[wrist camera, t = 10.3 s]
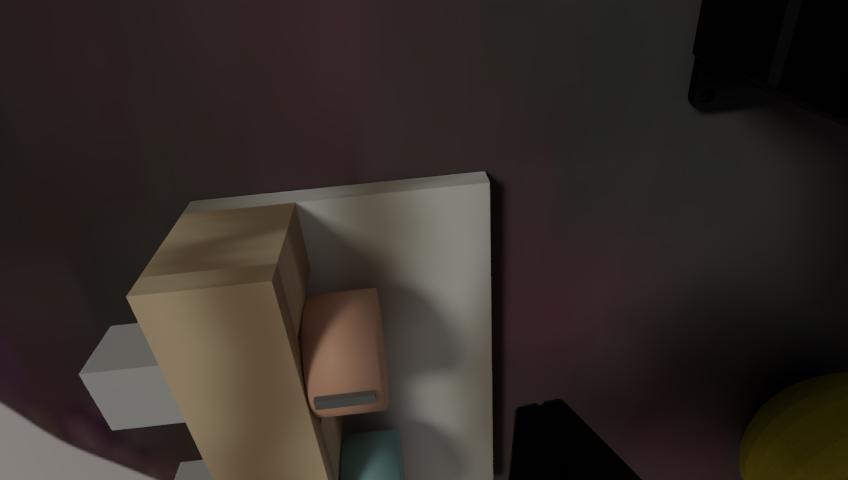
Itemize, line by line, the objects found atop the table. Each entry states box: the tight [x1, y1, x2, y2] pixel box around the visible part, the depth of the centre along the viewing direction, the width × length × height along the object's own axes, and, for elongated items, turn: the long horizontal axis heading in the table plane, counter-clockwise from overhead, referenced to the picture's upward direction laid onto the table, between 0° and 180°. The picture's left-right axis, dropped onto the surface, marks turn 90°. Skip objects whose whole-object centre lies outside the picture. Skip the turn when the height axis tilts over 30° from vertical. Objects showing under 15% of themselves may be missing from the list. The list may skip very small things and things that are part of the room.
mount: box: [126, 171, 493, 480], centre depth 22 cm, size 11×18×6 cm, turn 5°
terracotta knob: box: [79, 288, 388, 430], centre depth 19 cm, size 10×4×5 cm, turn 95°
